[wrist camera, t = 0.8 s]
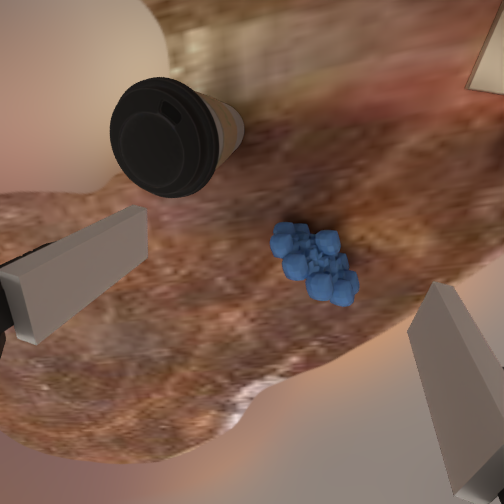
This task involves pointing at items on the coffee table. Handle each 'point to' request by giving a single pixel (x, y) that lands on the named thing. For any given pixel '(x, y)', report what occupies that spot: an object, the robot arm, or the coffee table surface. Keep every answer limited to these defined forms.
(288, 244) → the grapes
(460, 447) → the robot arm
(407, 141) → the coffee table surface
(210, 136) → the coffee cup
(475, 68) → the plate
